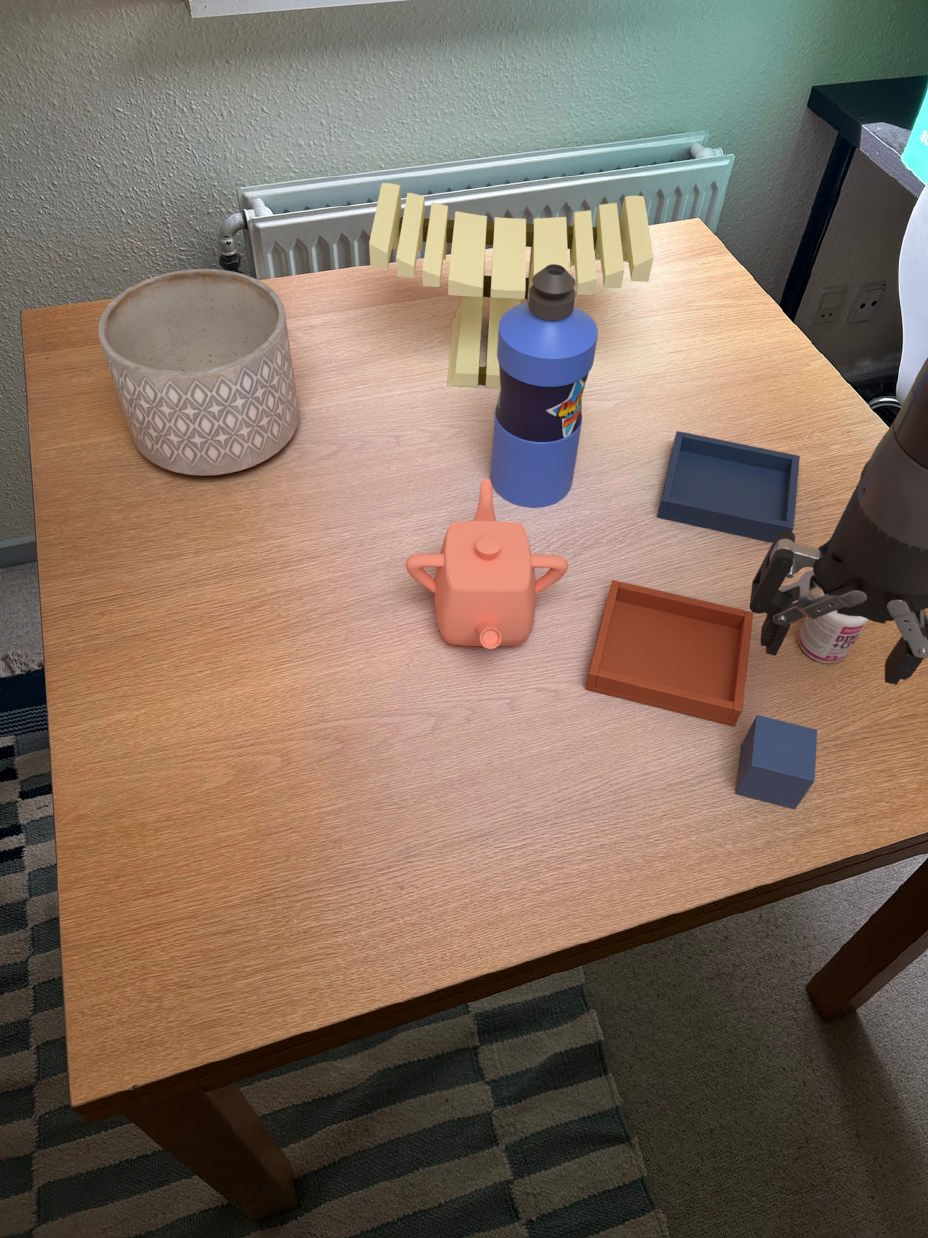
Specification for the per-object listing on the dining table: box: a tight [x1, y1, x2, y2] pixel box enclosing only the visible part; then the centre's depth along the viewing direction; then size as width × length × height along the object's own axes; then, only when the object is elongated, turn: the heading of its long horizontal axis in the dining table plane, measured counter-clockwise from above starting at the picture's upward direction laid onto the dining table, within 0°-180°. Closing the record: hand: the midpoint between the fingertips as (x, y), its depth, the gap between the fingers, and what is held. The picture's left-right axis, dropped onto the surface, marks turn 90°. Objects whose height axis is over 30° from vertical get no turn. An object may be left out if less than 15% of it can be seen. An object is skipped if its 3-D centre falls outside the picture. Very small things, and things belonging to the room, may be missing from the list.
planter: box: [97, 268, 300, 477], centre depth 99 cm, size 19×19×14 cm
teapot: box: [405, 478, 569, 650], centre depth 85 cm, size 14×12×10 cm
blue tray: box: [656, 430, 801, 544], centre depth 99 cm, size 14×12×3 cm
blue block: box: [735, 714, 818, 810], centre depth 76 cm, size 5×5×5 cm
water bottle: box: [489, 264, 599, 508], centre depth 91 cm, size 9×9×25 cm
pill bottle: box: [797, 590, 870, 664], centre depth 84 cm, size 5×5×8 cm
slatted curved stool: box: [368, 182, 654, 389], centre depth 108 cm, size 30×16×18 cm, turn 87°
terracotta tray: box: [584, 579, 754, 728], centre depth 85 cm, size 14×12×3 cm
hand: (830, 660), depth 67 cm, fingers open, 8 cm apart
